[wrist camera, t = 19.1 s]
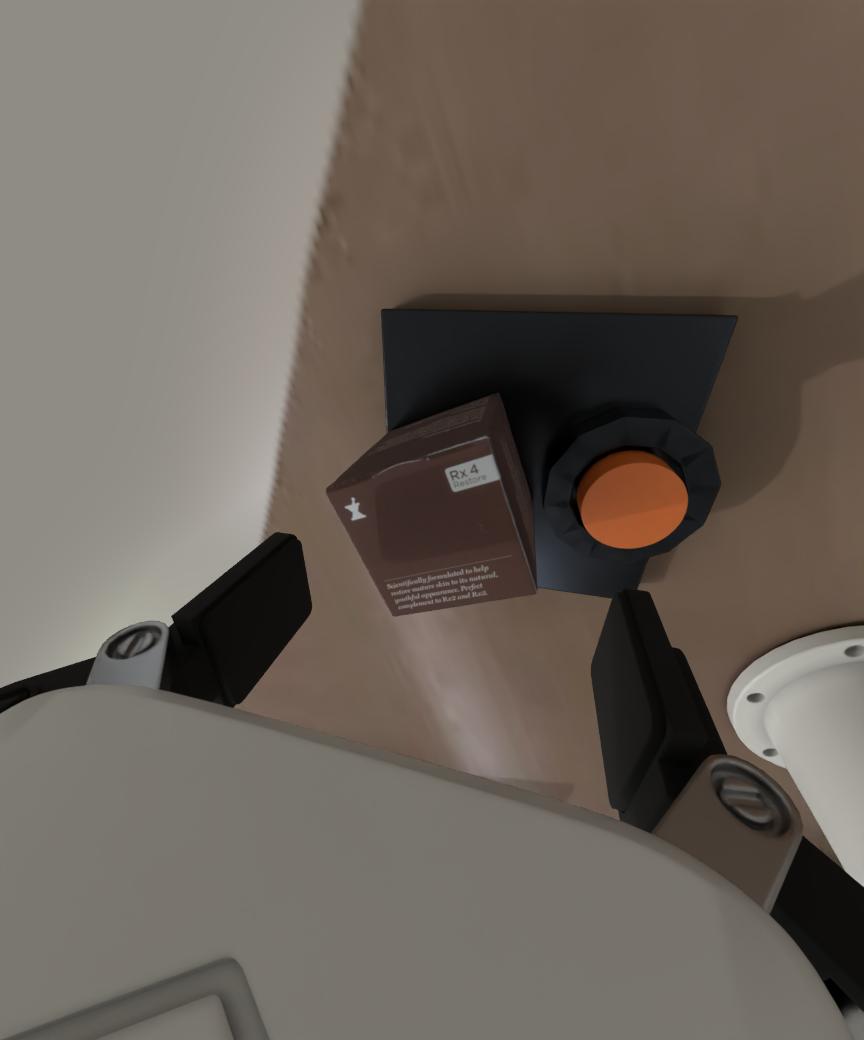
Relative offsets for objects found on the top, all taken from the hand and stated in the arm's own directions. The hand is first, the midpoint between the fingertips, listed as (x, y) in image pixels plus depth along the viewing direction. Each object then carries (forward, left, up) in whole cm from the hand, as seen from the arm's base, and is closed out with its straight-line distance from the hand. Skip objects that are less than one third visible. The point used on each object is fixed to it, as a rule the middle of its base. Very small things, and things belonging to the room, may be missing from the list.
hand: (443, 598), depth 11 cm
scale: (-2, 0, -11) cm, 11 cm away
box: (+1, 0, -10) cm, 10 cm away
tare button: (-7, 0, -8) cm, 11 cm away
